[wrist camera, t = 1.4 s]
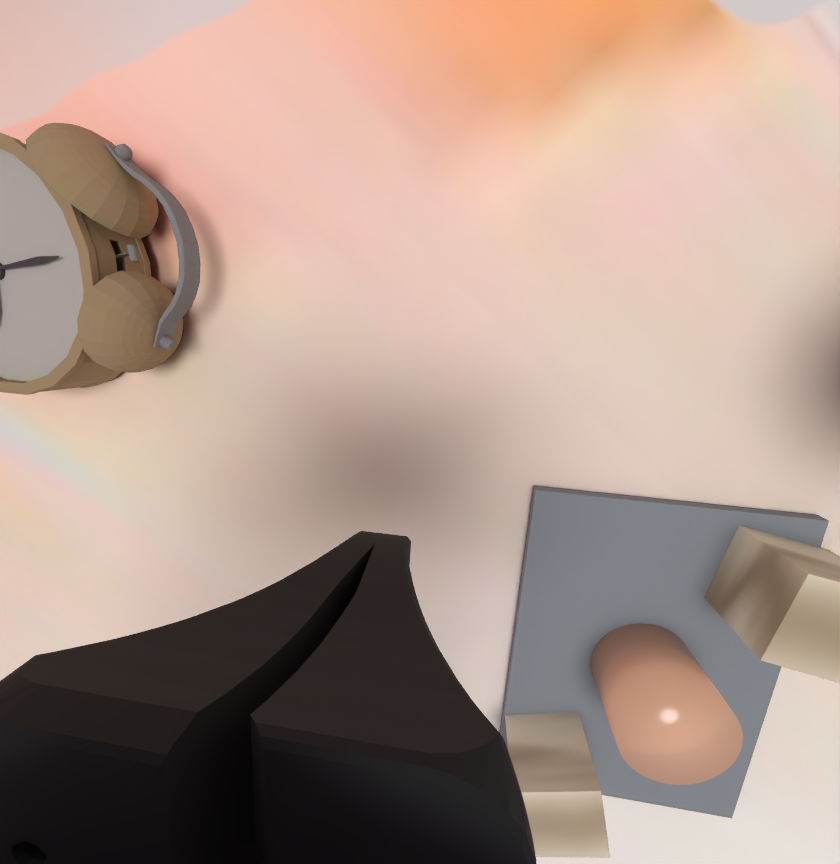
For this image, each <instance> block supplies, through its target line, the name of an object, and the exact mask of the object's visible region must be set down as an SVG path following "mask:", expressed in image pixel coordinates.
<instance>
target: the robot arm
mask: <svg viewBox="0 0 840 864" xmlns="http://www.w3.org/2000/svg"><path fill="white" fill-rule="evenodd" d="M410 547H411V541H410V540H409V538H408V537H406V536H398V535H390V534H382V533H373V532H365V531H361V532H359V533H357V534H355V535H354V536H352V537H351V538H349V539H348V540H346V541H345V542H343V543H342V544H340V545H339V546H337V547H336V548H334V549H333V550H331V551H329V552H328V553H326V554H325V555H323V556H322V557H320V558H318V559H317V560H315V561H314V562H312V563H310V564H309V565H307V566H305V567H303V568H302V569H300V570H298V571H296V572H294V573H293V574H291V575H289V576H287V577H286V578H284V579H282V580H280V581H278V582H276V583H274V584H272V585H270V586H268V587H266V588H264V589H262V590H260V591H258V592H255V593H253V594H251V595H249V596H246V597H244V598H242V599H240V600H237V601H235V602H232V603H229V604H227V605H224V606H221V607H219V608H216V609H213V610H210V611H208V612H205V613H202V614H199V615H197V616H194V617H191V618H188V619H185V620H182V621H179V622H175V623H172V624H169V625H165V626H162V627H159V628H155V629H151V630H148V631H144V632H140V633H137V634H133V635H129V636H125V637H121V638H117V639H113V640H108V641H104V642H99V643H94V644H89V645H85V646H80V647H75V648H71V649H66V650H61V651H56V652H51V653H46V654H40V655H36V656H34V657H33V658H31V659H30V660H29V661H27V662H26V663H25V664H23V665H22V666H20V667H19V668H18V669H16V670H15V671H14V672H12V673H11V674H9V675H8V676H7V677H5V678H4V679H3V680H1V681H0V864H536V856H535V849H534V843H533V838H532V833H531V829H530V824H529V820H528V816H527V812H526V808H525V804H524V800H523V796H522V793H521V789H520V786H519V783H518V779H517V776H516V773H515V770H514V767H513V764H512V761H511V758H510V755H509V752H508V749H507V746H506V744H505V741H504V738H503V737H502V736H501V734H500V733H499V732H498V731H497V730H496V729H495V727H494V726H493V725H492V724H491V723H490V722H489V720H488V719H487V718H486V717H485V716H484V715H483V713H482V712H481V711H480V710H479V708H478V707H477V706H476V705H475V703H474V702H473V701H472V699H471V698H470V697H469V695H468V694H467V692H466V691H465V690H464V688H463V687H462V685H461V684H460V683H459V681H458V680H457V678H456V677H455V675H454V673H453V672H452V670H451V668H450V667H449V665H448V663H447V662H446V660H445V658H444V657H443V655H442V653H441V652H440V650H439V648H438V646H437V645H436V642H435V640H434V638H433V636H432V634H431V632H430V630H429V628H428V626H427V623H426V621H425V619H424V616H423V614H422V611H421V608H420V606H419V603H418V600H417V596H416V593H415V590H414V586H413V582H412V577H411V572H410V567H409V563H410Z"/></svg>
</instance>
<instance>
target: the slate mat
mask: <svg viewBox="0 0 840 864" xmlns="http://www.w3.org/2000/svg"><path fill="white" fill-rule="evenodd" d="M828 522H829V521H828V520H826V519H824V518H822V517H820V516H818V515H811V514H801V513H792V512H782V511H772V510H763V509H753V508H743V507H734V506H724V505H714V504H704V503H695V502H685V501H675V500H666V499H656V498H646V497H637V496H627V495H617V494H608V493H598V492H588V491H578V490H569V489H559V488H549V487H540V486H534V488H533V495H532V502H531V509H530V517H529V524H528V531H527V538H526V546H525V553H524V560H523V567H522V575H521V582H520V589H519V596H518V604H517V611H516V618H515V625H514V632H513V640H512V647H511V654H510V661H509V669H508V676H507V683H506V690H505V698H504V705H503V712H502V719H501V726H500V734H501V736H502V737H503V738H504V741H505V744H506V746H507V749H508V743H507V732H506V720H505V715H525V714H545V713H566V712H579V716H580V719H581V723H582V726H583V730H584V733H585V737H586V740H587V744H588V747H589V751H590V754H591V758H592V761H593V765H594V768H595V772H596V775H597V779H598V782H599V786H600V789H601V794H602V795H606V796H612V797H617V798H623V799H629V800H634V801H640V802H645V803H651V804H656V805H662V806H667V807H673V808H678V809H684V810H689V811H695V812H701V813H706V814H712V815H717V816H723V817H728V818H732V816H733V813H734V810H735V807H736V803H737V800H738V797H739V794H740V791H741V788H742V785H743V782H744V779H745V776H746V773H747V770H748V767H749V764H750V761H751V758H752V755H753V751H754V748H755V745H756V742H757V739H758V736H759V733H760V730H761V727H762V724H763V721H764V718H765V715H766V712H767V709H768V706H769V703H770V699H771V696H772V693H773V690H774V687H775V684H776V681H777V678H778V675H779V672H780V669H781V666H779V665H775V664H772V663H768V662H765V661H761V660H760V659H759V658H758V657H757V656H756V655H755V654H754V652H753V651H752V650H751V649H750V648H749V647H748V646H747V645H746V644H745V642H744V641H743V640H742V639H741V638H740V637H739V636H738V635H737V634H736V632H735V631H734V630H733V629H732V628H731V627H730V626H729V625H728V624H727V622H726V621H725V620H724V619H723V618H722V617H721V616H720V615H719V614H718V612H717V611H716V610H715V609H714V608H713V607H712V606H711V605H710V604H709V602H708V601H707V600H706V599H705V598H704V596H705V594H706V592H707V590H708V588H709V586H710V584H711V582H712V580H713V578H714V576H715V574H716V572H717V570H718V567H719V565H720V563H721V561H722V559H723V557H724V555H725V553H726V551H727V549H728V547H729V545H730V543H731V541H732V539H733V537H734V535H735V533H736V531H737V529H738V527H739V525H740V526H743V527H747V528H751V529H754V530H758V531H762V532H766V533H769V534H773V535H777V536H780V537H784V538H788V539H792V540H795V541H799V542H803V543H806V544H810V545H814V546H818V547H820V546H821V543H822V540H823V537H824V534H825V531H826V528H827V525H828ZM637 623H645V624H653V625H657V626H661V627H663V628H666V629H668V630H670V631H672V632H673V633H675V634H676V635H677V636H679V637H680V638H681V639H682V640H683V641H684V643H685V644H686V645H687V647H688V648H689V650H690V651H691V653H692V654H693V655H694V657H695V658H696V660H697V661H698V663H699V664H700V665H701V667H702V668H703V670H704V671H705V673H706V674H707V675H708V677H709V678H710V680H711V681H712V683H713V684H714V685H715V687H716V688H717V690H718V691H719V693H720V694H721V695H722V697H723V698H724V700H725V701H726V703H727V704H728V705H729V707H730V708H731V710H732V711H733V713H734V714H735V715H736V717H737V718H738V720H739V722H740V725H741V728H742V732H743V744H742V748H741V751H740V753H739V756H738V757H737V759H736V760H735V762H734V763H733V764H732V765H731V766H730V767H729V768H728V769H727V770H726V771H724V772H723V773H721V774H720V775H718V776H716V777H714V778H712V779H710V780H707V781H704V782H700V783H696V784H689V785H672V784H665V783H661V782H657V781H654V780H651V779H649V778H647V777H644V776H643V775H641V774H639V773H638V772H636V771H635V770H634V769H632V768H631V767H630V766H629V765H628V764H627V763H626V761H625V760H624V759H623V757H622V756H621V754H620V752H619V749H618V747H617V744H616V741H615V738H614V735H613V733H612V730H611V727H610V724H609V721H608V719H607V716H606V713H605V710H604V707H603V705H602V702H601V699H600V696H599V693H598V691H597V688H596V685H595V682H594V679H593V677H592V674H591V669H590V658H591V655H592V652H593V649H594V647H595V646H596V644H597V643H598V642H599V641H600V639H601V638H602V637H604V636H605V635H606V634H607V633H609V632H610V631H612V630H614V629H616V628H619V627H622V626H625V625H629V624H637Z"/></svg>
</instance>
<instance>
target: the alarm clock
mask: <svg viewBox="0 0 840 864" xmlns="http://www.w3.org/2000/svg"><path fill="white" fill-rule="evenodd" d="M156 197H157V198H158V200H159V201H160V202H161V204H162V205H163V207H164V209H165V211H166V213H167V216H168V218H169V220H170V222H171V224H172V228H173V231H174V234H175V237H176V240H177V247H178V255H179V280H178V284H177V288H176V292H175V295H173V294H172V292H171V291H170V290H168V289H167V288H166V287H165V286H164V285H163V284H162V283H160V282H159V281H158V280H157V279H155V278H153V277H151V269H150V261H149V258H148V255H147V253H146V250H145V247H144V244H143V242H142V239H141V238H142V237H145V236H148V235H149V234H150V233H151V231H152V230H153V228H154V226H155V223H156V221H157V218H158V213H159V209H158V203H157V199H156ZM199 282H200V256H199V247H198V243H197V239H196V236H195V233H194V229H193V227H192V224H191V222H190V220H189V218H188V216H187V214H186V212H185V210H184V208H183V207H182V206H181V204H180V203H179V202H178V200H177V199H176V198H175V196H173V195H172V194H171V193H170V192H169V191H168V190H167V189H166V188H165V187H163V186H162V185H160V184H158V183H157V182H155V181H154V180H153V179H151V178H150V177H149V176H148V175H146V174H145V173H144V172H143V171H142V170H141V169H140V168H139V167H138V166H137V165H136V164H135V163H134V162H133V161H132V150H131V149H130V148H129V147H128V146H127V145H125V144H121V145H117V147H116V146H115V145H114V144H112V143H111V142H110V141H108V140H107V139H105V138H103V137H101V136H100V135H98V134H96V133H94V132H93V131H91V130H88V129H85V128H83V127H80V126H77V125H73V124H64V123H51V124H46V125H44V126H42V127H40V128H38V129H37V130H36V131H35V132H34V133H32V134H31V135H30V136H29V137H28V138H27V139H26V144H23V143H22V142H21V141H20V140H17V139H15V138H12V137H10V136H7V135H5V134H2V133H0V392H6V393H16V394H26V395H27V394H34V393H37V392H42V391H50V390H58V389H67V388H75V387H91V386H94V385H97V384H100V383H103V382H106V381H110V380H113V379H115V378H116V377H117V376H118V375H119V374H120V373H122V372H142V371H145V370H149V369H152V368H155V367H156V366H158V365H160V364H161V363H163V362H165V361H166V360H167V359H168V358H169V357H170V356H171V355H172V354H173V353H174V351H175V350H176V348H177V346H178V345H179V343H180V339H181V336H182V333H183V316H184V315H185V314H186V313H187V311H188V310H189V309H190V307H191V305H192V303H193V301H194V299H195V297H196V294H197V290H198V286H199Z"/></svg>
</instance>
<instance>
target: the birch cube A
mask: <svg viewBox="0 0 840 864" xmlns="http://www.w3.org/2000/svg"><path fill="white" fill-rule="evenodd" d="M505 720H506V732H507V743H508V752H509V755H510V758H511V761H512V764H513V767H514V770H515V773H516V776H517V779H518V783H519V786H520V789H521V793H522V796H523V800H524V804H525V808H526V812H527V816H528V820H529V824H530V829H531V833H532V838H533V843H534V849H535V856H536V857H598V858H610V854H609V846H608V839H607V831H606V824H605V816H604V809H603V802H602V794H601V789H600V786H599V782H598V779H597V775H596V772H595V768H594V765H593V761H592V758H591V754H590V751H589V747H588V744H587V740H586V737H585V733H584V730H583V726H582V723H581V719H580V716H579V712H566V713H545V714H525V715H505Z"/></svg>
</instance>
